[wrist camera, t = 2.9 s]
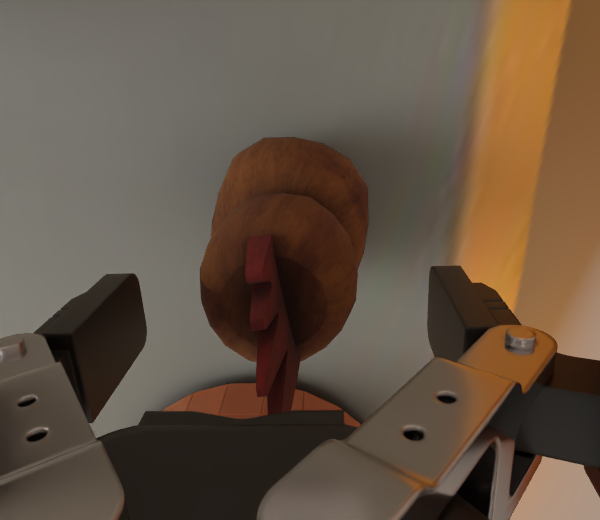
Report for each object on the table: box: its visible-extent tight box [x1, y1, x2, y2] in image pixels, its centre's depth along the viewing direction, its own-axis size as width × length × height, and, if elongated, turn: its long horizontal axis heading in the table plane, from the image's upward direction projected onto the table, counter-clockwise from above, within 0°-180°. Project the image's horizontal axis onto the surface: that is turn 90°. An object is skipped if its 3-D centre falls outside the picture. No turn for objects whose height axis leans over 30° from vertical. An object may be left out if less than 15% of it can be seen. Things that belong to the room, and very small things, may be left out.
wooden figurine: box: [200, 137, 368, 415], centre depth 17 cm, size 7×6×15 cm
